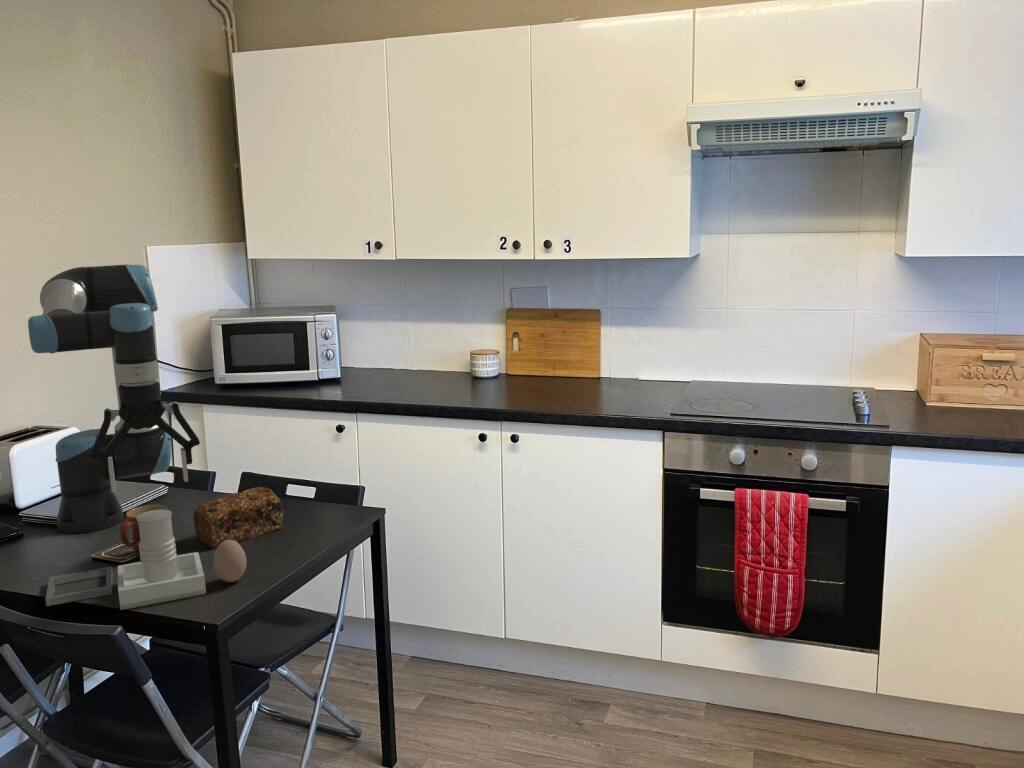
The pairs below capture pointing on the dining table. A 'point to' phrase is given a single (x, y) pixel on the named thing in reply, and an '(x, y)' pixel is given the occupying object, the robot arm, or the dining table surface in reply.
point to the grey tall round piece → (157, 546)
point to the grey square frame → (81, 594)
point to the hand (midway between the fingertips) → (150, 484)
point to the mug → (136, 525)
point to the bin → (160, 583)
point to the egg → (229, 561)
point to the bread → (238, 516)
